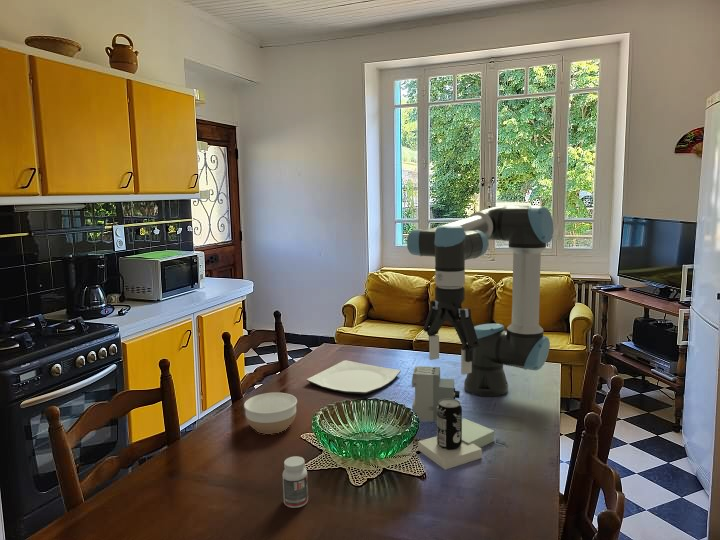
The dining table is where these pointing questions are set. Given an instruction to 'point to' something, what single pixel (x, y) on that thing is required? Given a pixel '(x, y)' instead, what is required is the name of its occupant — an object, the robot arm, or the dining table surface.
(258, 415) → the bowl
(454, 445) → the beverage can
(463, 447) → the stand
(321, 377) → the plate
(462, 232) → the robot arm
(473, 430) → the stand
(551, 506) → the dining table surface
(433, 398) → the circuit breaker
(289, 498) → the pill bottle
